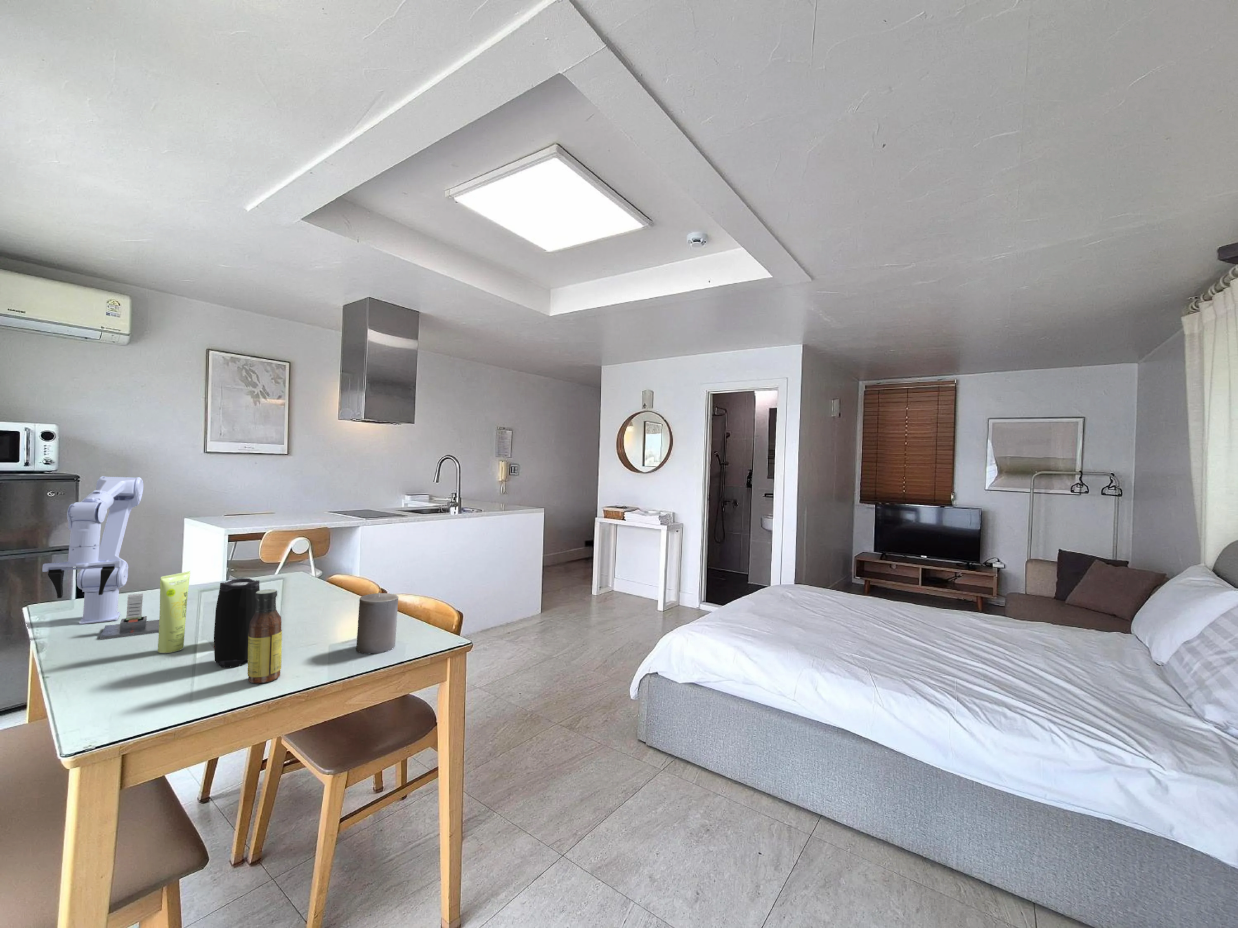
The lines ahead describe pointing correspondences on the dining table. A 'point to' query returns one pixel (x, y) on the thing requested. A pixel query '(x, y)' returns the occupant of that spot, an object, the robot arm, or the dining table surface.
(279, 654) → the sauce bottle
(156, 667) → the dining table surface
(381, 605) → the pillar candle
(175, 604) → the tube
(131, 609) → the column
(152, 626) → the grey slotted base
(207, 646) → the dining table surface
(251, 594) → the portable speaker
